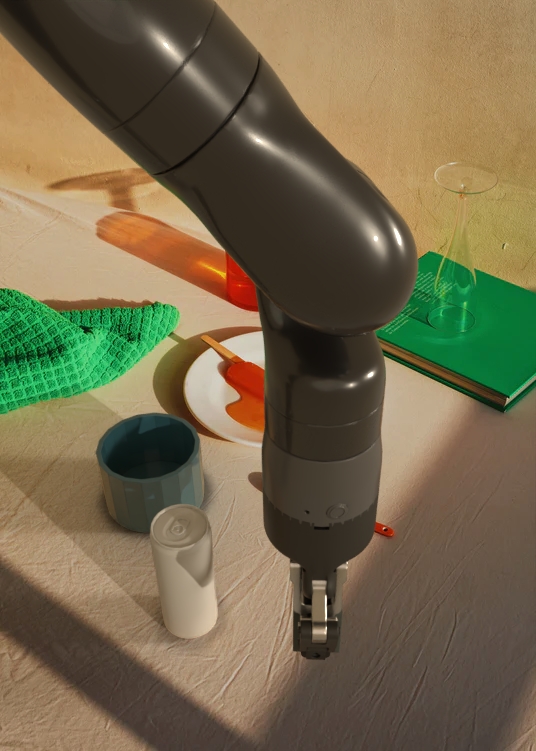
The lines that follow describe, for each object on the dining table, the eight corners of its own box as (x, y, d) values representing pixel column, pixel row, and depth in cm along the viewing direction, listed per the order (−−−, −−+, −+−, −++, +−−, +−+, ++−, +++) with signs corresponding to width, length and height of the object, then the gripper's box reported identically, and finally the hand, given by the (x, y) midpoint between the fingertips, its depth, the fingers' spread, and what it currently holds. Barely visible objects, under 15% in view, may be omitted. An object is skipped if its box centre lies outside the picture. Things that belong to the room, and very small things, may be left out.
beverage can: (153, 632, 63) (136, 539, 56) (179, 588, 67) (166, 495, 60) (204, 650, 62) (193, 557, 55) (227, 604, 65) (220, 511, 58)
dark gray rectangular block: (339, 653, 56) (342, 613, 53) (292, 651, 56) (293, 612, 53) (338, 618, 59) (341, 579, 56) (293, 618, 59) (293, 578, 56)
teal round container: (140, 550, 70) (131, 499, 66) (88, 491, 77) (77, 441, 72) (224, 500, 75) (220, 449, 71) (168, 448, 82) (162, 399, 77)
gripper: (266, 404, 53) (270, 560, 63) (256, 563, 42) (262, 720, 52) (371, 406, 52) (357, 561, 63) (390, 565, 41) (369, 723, 52)
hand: (314, 632), depth 57 cm, fingers closed on dark gray rectangular block, 3 cm apart
